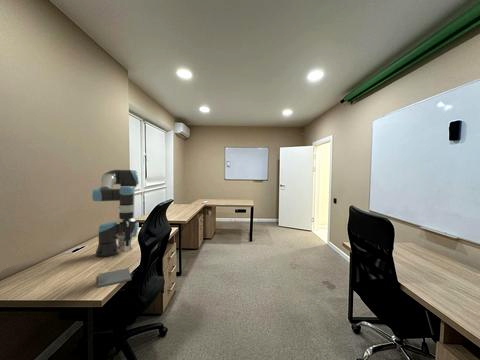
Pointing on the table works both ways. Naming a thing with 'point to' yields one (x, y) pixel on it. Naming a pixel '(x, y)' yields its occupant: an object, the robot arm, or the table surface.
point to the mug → (121, 241)
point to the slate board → (113, 277)
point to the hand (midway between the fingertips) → (126, 248)
